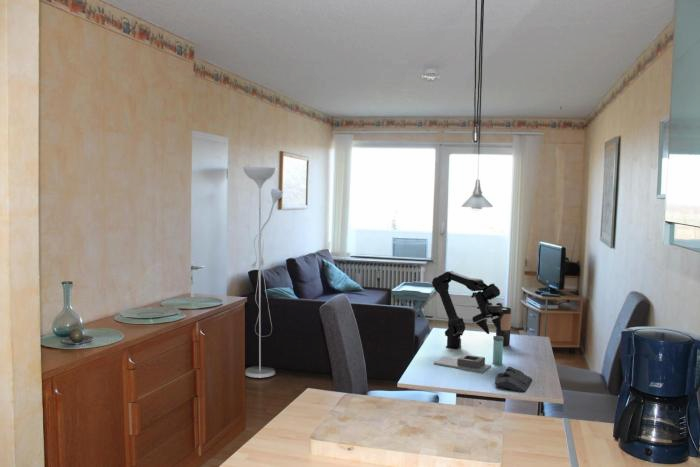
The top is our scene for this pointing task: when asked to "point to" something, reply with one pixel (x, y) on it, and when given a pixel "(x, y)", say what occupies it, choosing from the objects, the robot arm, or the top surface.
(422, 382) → the top surface
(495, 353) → the teal cylinder
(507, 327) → the travel mug
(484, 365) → the holder board
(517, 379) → the dark slate chunk
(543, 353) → the top surface
